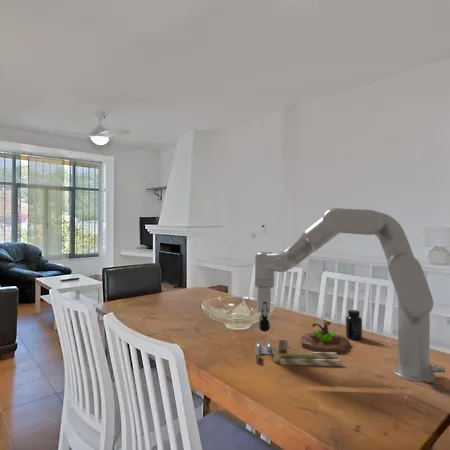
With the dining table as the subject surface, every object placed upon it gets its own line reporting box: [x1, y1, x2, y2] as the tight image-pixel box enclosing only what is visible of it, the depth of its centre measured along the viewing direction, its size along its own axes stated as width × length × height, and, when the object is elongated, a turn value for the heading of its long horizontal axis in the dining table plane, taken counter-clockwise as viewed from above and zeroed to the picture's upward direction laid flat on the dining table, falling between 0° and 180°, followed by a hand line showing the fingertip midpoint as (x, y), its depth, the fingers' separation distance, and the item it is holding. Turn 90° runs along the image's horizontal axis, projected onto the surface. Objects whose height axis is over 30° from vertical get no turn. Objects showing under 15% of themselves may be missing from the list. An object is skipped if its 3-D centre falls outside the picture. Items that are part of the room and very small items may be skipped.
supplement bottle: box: [345, 309, 363, 341], centre depth 158 cm, size 7×7×12 cm
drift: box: [273, 349, 314, 363], centre depth 131 cm, size 14×4×4 cm, turn 82°
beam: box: [255, 339, 343, 367], centre depth 131 cm, size 30×8×6 cm, turn 86°
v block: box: [254, 341, 275, 356], centre depth 142 cm, size 8×7×3 cm
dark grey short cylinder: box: [258, 318, 271, 332], centre depth 142 cm, size 5×4×4 cm
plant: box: [300, 319, 351, 355], centre depth 149 cm, size 20×20×11 cm
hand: (264, 327), depth 142 cm, fingers closed on dark grey short cylinder, 5 cm apart
